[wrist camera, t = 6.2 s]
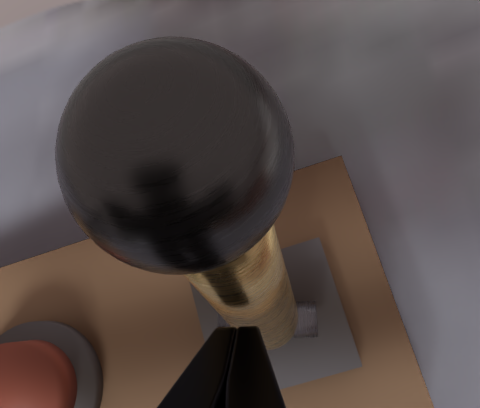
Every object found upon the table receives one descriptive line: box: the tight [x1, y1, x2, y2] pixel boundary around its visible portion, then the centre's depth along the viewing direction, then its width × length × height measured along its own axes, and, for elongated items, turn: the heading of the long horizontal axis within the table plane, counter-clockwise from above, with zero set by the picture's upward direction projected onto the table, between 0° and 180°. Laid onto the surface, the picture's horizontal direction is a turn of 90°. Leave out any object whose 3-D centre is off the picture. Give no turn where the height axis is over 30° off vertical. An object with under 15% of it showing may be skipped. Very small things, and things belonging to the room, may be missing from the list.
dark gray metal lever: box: [55, 37, 318, 350], centre depth 9 cm, size 3×3×11 cm
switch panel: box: [0, 156, 434, 408], centre depth 16 cm, size 9×24×4 cm, turn 106°
